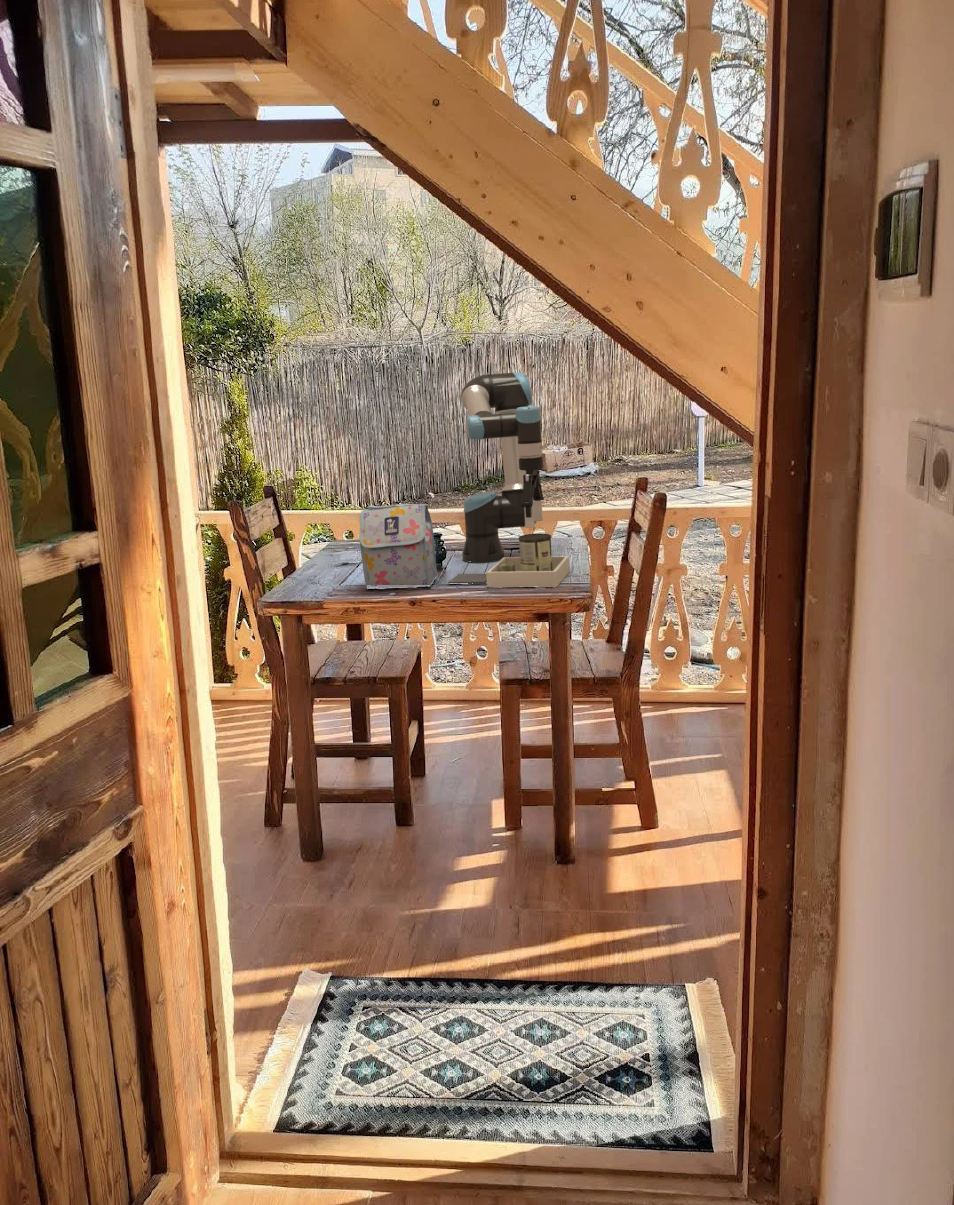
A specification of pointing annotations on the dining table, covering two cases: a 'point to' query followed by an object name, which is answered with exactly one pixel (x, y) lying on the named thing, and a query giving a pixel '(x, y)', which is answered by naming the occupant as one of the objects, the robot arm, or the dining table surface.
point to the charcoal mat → (470, 579)
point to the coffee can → (535, 552)
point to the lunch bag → (397, 545)
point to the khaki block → (507, 567)
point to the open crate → (528, 574)
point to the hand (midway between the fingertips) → (534, 524)
